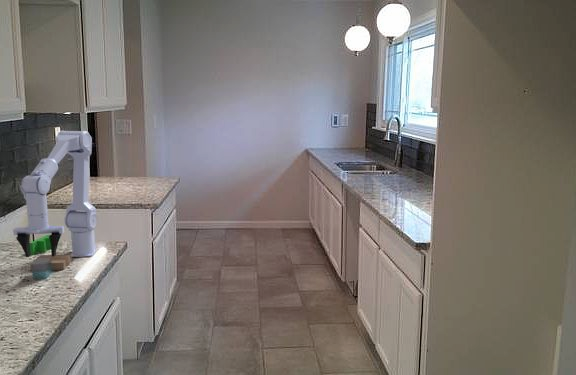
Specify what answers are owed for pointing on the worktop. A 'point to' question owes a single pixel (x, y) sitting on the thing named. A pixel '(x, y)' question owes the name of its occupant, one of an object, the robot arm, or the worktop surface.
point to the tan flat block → (58, 261)
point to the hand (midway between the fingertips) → (41, 256)
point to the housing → (42, 268)
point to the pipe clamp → (40, 245)
